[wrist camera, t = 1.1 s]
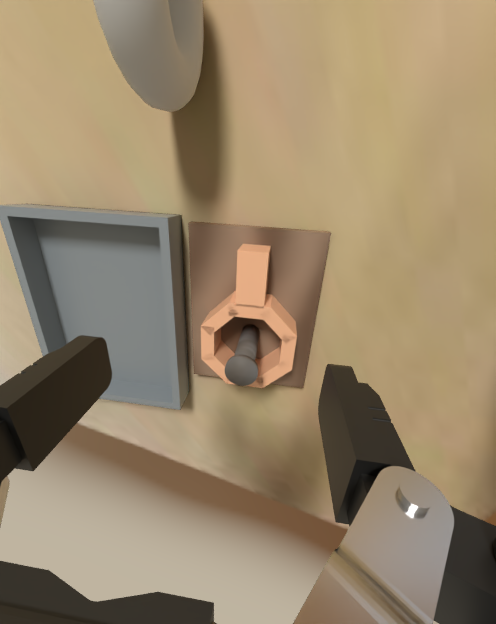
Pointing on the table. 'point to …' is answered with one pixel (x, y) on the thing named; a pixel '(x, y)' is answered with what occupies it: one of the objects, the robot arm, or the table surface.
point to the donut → (156, 47)
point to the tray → (107, 291)
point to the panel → (281, 284)
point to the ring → (253, 305)
